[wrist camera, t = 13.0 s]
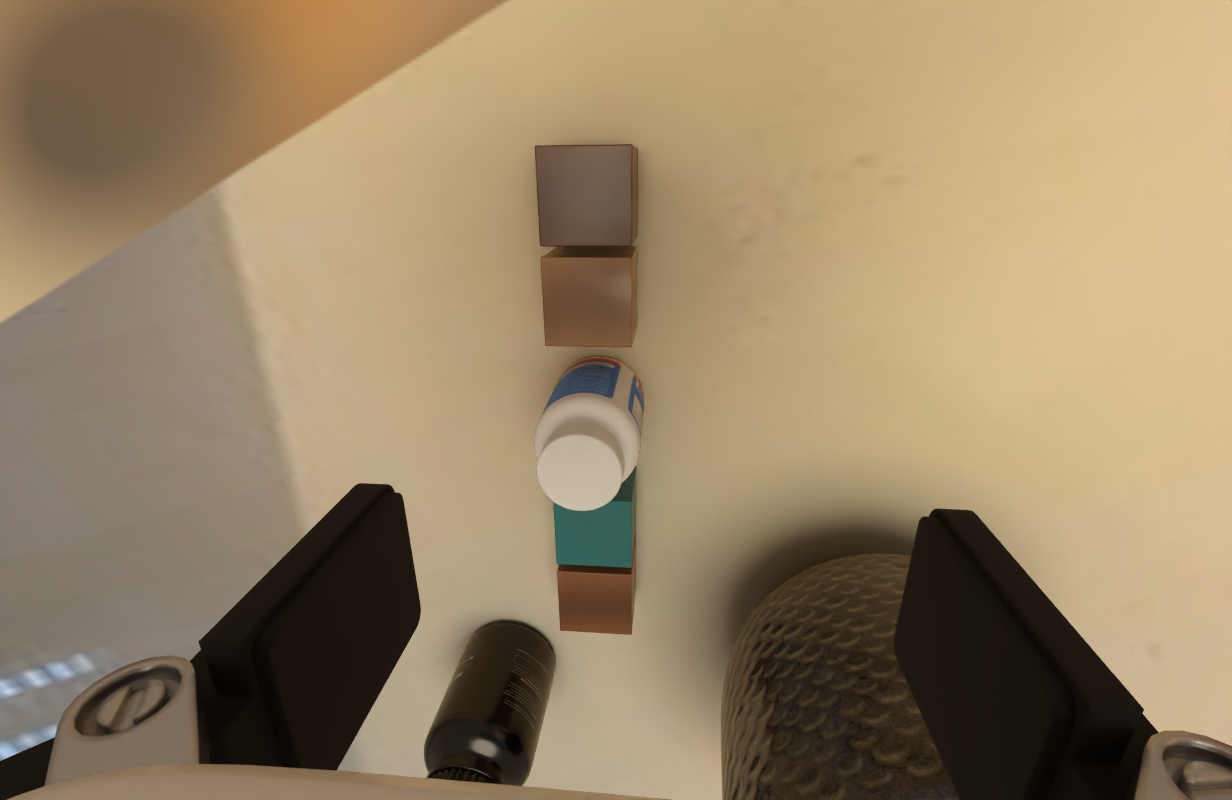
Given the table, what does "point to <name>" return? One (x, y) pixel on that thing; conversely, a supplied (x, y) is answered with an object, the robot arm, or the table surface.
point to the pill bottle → (589, 433)
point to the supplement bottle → (492, 708)
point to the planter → (827, 693)
